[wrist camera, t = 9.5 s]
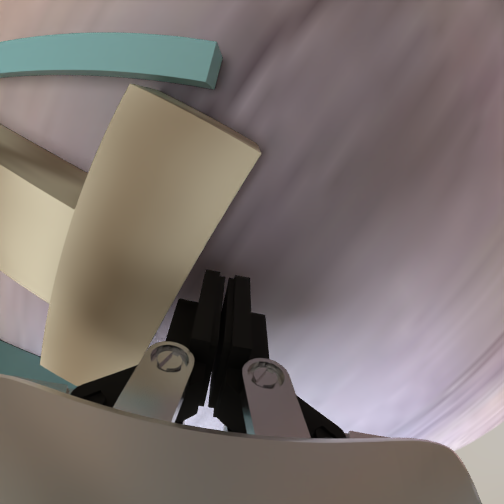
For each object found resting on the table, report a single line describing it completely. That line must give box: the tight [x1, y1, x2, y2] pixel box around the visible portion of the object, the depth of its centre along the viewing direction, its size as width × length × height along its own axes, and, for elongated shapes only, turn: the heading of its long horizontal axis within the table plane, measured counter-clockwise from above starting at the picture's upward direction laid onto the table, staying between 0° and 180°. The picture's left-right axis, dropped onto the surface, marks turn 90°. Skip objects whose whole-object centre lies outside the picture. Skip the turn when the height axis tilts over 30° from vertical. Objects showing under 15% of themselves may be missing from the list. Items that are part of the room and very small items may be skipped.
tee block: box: [0, 84, 262, 387], centre depth 10 cm, size 12×12×3 cm
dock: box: [0, 33, 223, 389], centre depth 11 cm, size 14×17×2 cm
